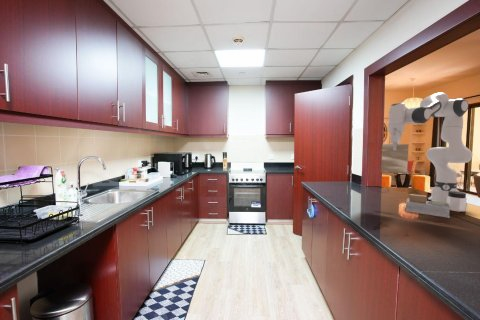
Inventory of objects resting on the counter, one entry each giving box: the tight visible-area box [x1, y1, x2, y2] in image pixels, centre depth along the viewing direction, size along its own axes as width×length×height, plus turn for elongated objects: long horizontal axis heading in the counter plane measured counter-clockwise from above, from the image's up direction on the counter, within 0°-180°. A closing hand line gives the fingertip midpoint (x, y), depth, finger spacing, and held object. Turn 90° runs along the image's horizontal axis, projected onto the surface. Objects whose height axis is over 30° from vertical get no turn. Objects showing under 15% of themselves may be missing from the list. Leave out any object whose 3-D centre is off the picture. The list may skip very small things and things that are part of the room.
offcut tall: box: [409, 193, 428, 203], centre depth 145 cm, size 2×8×9 cm, turn 52°
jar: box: [447, 191, 468, 212], centre depth 147 cm, size 9×8×12 cm
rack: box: [405, 198, 451, 219], centre depth 144 cm, size 16×20×6 cm
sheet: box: [380, 143, 409, 174], centre depth 156 cm, size 2×14×18 cm, turn 52°
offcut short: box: [431, 200, 445, 206], centre depth 140 cm, size 2×6×7 cm, turn 52°
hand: (395, 150), depth 155 cm, fingers closed on sheet, 2 cm apart
